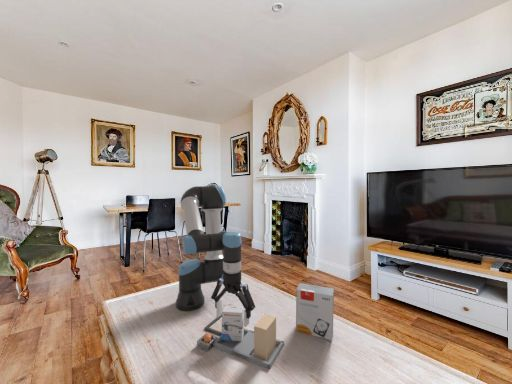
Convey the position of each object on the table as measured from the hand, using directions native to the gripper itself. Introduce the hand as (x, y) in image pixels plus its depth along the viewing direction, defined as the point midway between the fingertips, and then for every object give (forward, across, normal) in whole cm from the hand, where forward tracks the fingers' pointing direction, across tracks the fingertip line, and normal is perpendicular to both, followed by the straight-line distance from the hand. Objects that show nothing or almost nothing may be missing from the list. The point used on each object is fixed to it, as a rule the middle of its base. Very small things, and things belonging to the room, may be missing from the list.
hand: (232, 320), depth 100 cm
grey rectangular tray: (+9, +8, 0) cm, 12 cm away
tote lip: (+10, -10, +9) cm, 16 cm away
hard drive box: (+9, +29, +22) cm, 37 cm away
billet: (+8, +16, 0) cm, 17 cm away
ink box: (+7, +1, 0) cm, 7 cm away
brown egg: (+9, -8, -6) cm, 14 cm away
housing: (+9, -8, -6) cm, 14 cm away
